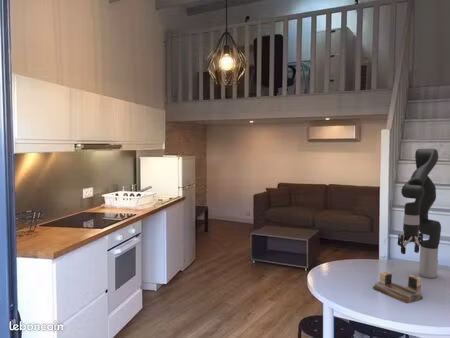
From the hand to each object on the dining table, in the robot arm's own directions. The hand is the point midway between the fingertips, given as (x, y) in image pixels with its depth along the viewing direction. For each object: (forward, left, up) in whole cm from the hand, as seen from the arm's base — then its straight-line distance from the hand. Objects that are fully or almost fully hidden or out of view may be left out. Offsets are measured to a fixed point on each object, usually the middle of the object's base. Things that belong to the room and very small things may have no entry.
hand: (409, 253), depth 199 cm
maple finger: (-3, +2, -20) cm, 20 cm away
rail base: (+10, +1, -20) cm, 22 cm away
